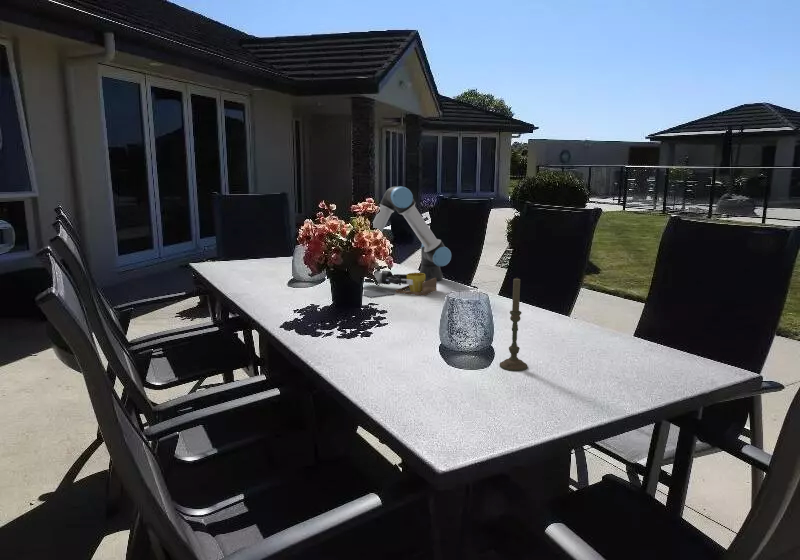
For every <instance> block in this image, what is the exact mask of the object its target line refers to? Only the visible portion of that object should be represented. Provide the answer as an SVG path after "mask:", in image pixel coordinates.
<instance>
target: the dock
mask: <svg viewBox="0 0 800 560" xmlns="http://www.w3.org/2000/svg"><path fill="white" fill-rule="evenodd" d="M408 288H409V285H406V286H403V287H400V288H398V289H396V290H395V294H401V293H405V294H404V295H411V294H415V295H414V296H421V295H425V296H427V295H429V294H431V292H432V293H433V292H436V291H437V278H433V279H430V280H428V281H424V282H423V283H422V292H412V291H410V290H408ZM405 289H406V290H405ZM409 289H410V288H409ZM403 290H404V291H403Z"/></svg>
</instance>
